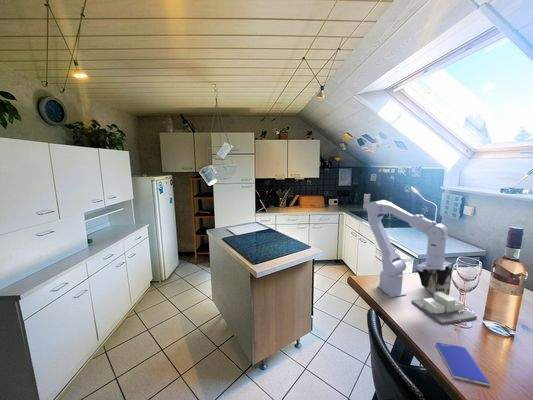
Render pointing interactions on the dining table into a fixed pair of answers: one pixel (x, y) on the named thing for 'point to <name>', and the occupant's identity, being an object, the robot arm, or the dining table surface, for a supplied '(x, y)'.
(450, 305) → the block
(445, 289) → the coffee box
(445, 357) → the hard drive
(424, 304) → the board
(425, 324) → the dining table surface
